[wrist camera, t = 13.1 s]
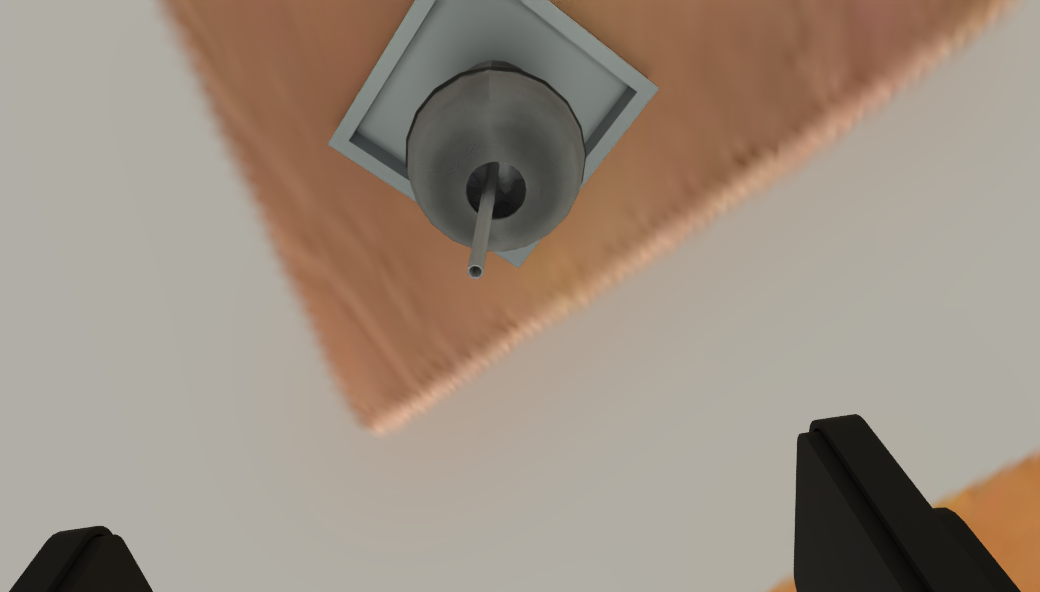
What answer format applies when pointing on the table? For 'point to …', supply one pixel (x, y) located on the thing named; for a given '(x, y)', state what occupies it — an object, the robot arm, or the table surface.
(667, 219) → the table surface
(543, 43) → the tray
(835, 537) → the robot arm
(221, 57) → the table surface
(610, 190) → the table surface
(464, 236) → the beverage cup
